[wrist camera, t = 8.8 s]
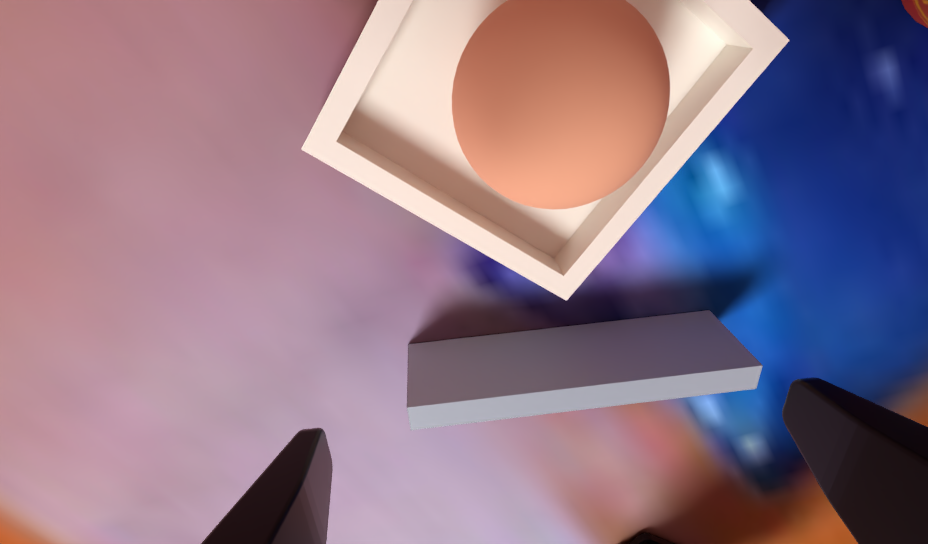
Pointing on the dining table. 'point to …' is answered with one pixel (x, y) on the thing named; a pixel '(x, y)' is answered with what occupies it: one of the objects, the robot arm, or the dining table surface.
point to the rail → (574, 369)
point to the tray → (448, 171)
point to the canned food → (917, 10)
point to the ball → (560, 99)
